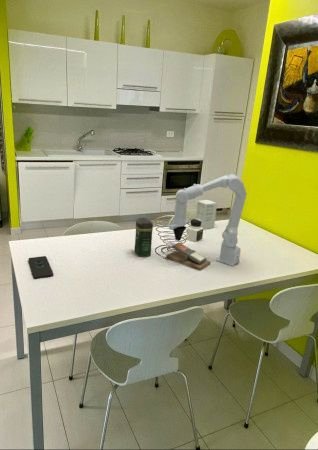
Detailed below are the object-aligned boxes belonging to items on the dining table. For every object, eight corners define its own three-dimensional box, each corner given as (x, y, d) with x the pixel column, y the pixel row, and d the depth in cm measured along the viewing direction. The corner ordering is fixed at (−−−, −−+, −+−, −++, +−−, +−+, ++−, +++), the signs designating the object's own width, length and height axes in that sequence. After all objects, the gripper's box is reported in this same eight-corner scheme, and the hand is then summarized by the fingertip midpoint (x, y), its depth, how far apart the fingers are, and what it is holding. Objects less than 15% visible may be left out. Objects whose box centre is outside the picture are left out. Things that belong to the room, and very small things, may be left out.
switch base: (210, 264, 170) (211, 255, 169) (199, 270, 162) (200, 261, 161) (176, 252, 181) (177, 244, 180) (165, 258, 173) (166, 249, 172)
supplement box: (214, 227, 224) (217, 203, 218) (203, 229, 219) (206, 204, 214) (205, 223, 231) (208, 199, 226) (194, 225, 227) (197, 200, 221)
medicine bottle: (196, 242, 197) (198, 222, 193) (185, 239, 201) (187, 219, 197) (202, 239, 203) (204, 220, 199) (192, 236, 207) (194, 217, 203)
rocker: (205, 261, 169) (206, 257, 168) (199, 265, 164) (200, 261, 164) (178, 245, 177) (179, 241, 176) (171, 248, 173) (172, 245, 172)
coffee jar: (152, 256, 174) (155, 222, 168) (137, 257, 171) (139, 222, 165) (147, 249, 183) (149, 216, 177) (132, 250, 180) (134, 216, 174)
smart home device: (46, 255, 164) (54, 273, 147) (46, 258, 165) (54, 277, 148) (27, 257, 160) (33, 276, 144) (28, 261, 161) (33, 280, 144)
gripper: (181, 209, 176) (179, 234, 180) (165, 215, 165) (163, 241, 169) (193, 212, 172) (190, 238, 177) (177, 218, 161) (174, 245, 165)
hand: (177, 240), depth 173 cm, fingers closed
